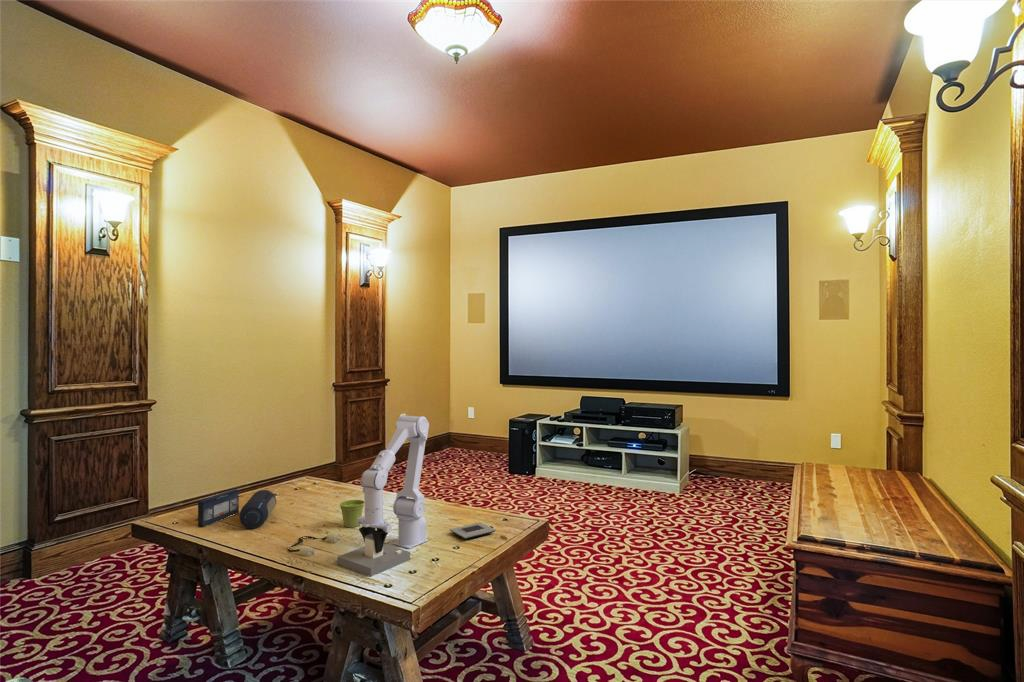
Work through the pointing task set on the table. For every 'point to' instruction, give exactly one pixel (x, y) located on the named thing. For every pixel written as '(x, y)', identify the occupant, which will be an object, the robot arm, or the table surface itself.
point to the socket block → (373, 560)
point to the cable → (309, 550)
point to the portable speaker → (257, 509)
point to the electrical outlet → (472, 530)
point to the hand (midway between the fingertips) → (374, 550)
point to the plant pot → (351, 511)
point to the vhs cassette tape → (218, 507)
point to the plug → (371, 547)
